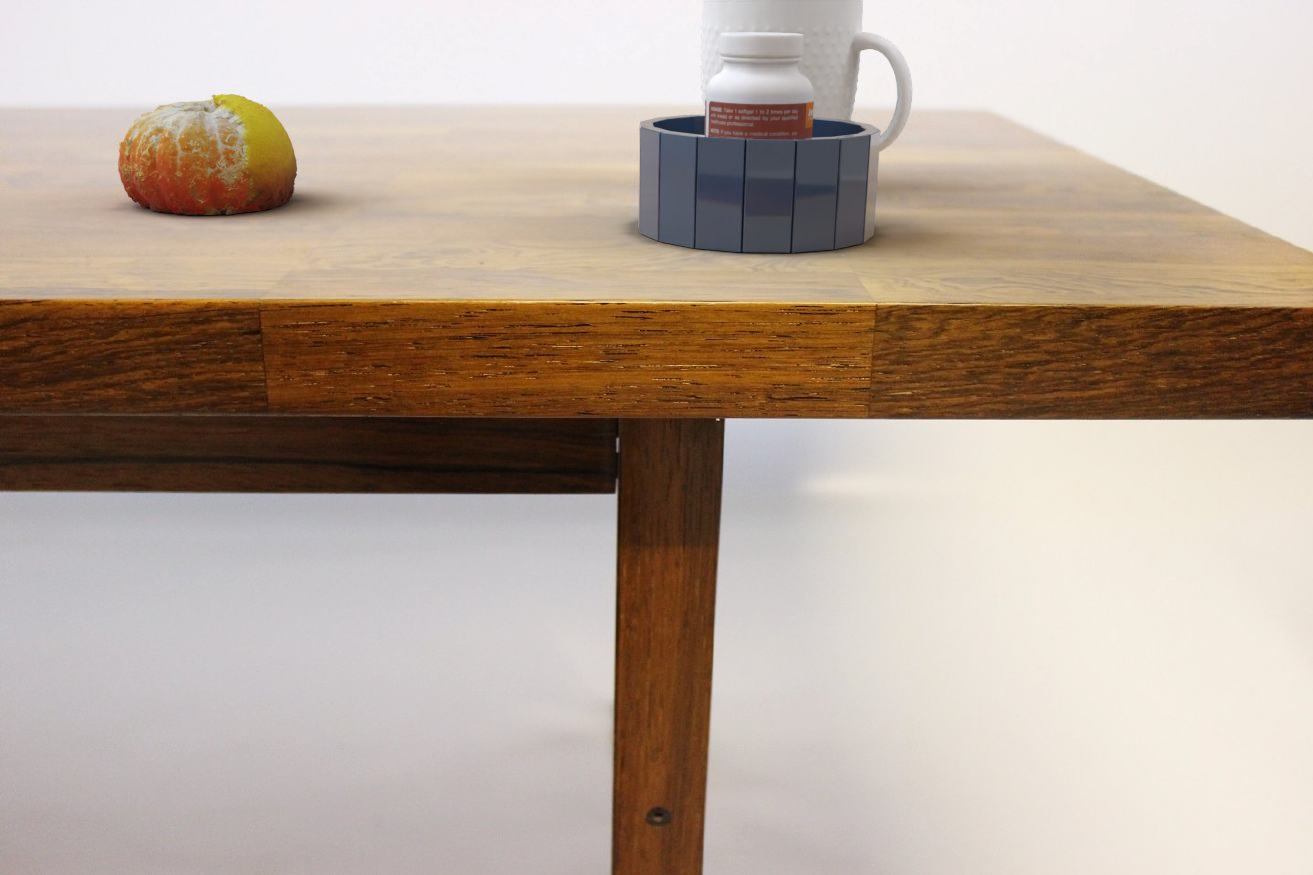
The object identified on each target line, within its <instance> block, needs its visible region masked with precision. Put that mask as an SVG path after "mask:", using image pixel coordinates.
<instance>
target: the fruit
mask: <svg viewBox="0 0 1313 875" xmlns="http://www.w3.org/2000/svg"><path fill="white" fill-rule="evenodd" d="M211 97H212V98H210V99H206V100H204V101H203V100H197V101H195V100H191V101H177V102H173V103H169V104H161V105H158V106H157V107H156V108H155V109H154V110H153V111H149V112H144V113H142V114H141V115H139V116H138V117H137V118H136V119H135V120H133V123H132V125H131V126H130V128H129V129H128V130H127V132H126V134H125V136H124V139H123V141H121V142H118V144H119V148H118V152H119V156H118V163H117V165H118V167H117V168H118V170H117V172H118V174H119V178H120V181H121V183H122V185H123V189H124V192H126V193H127V194H126V195H127V197H128V198H130V199H131V200H132V201H133V203H134V204H136V203H138V204H139V205H140V207H142V208H150V209H149V211H152V212H157V213H164V214H166V213H171V214H174V215H186V216H215V215H222V216H223V215H224V216H226V215H227V216H229V215H236V214H243V213H252V212H261V211H266V210H272V209H274V208H277V207H279V206H284V204H286V203H288V202H290V198H292V197H293V194H294V192H295V182H296V178H297V176H298V174H297V172H298V163H297V158H296V154H295V149H294V146H293V143H292V141H291V138H290V136H289V133H288V131H287V130H286V129H285V126H283V124H282V122H281V121H280V120H279V119H278V118H277V116H276V115H275V114H274V113H273V111H272V110H270V109H269V108H268V107H266V106H264V105H263V104H262V103H259V102H257V101H253V100H252V99H248V98H247V97H245V96H243V95H239V94H235V93H234V94H233V93H229V94H225V93H224V94H223V93H221V94H212V95H211Z"/></svg>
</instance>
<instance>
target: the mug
mask: <svg viewBox="0 0 1313 875" xmlns="http://www.w3.org/2000/svg"><path fill="white" fill-rule="evenodd" d="M863 9H864V0H702V16H701V26H700V28H701V33H700V34H701V35H700V40H701V44H700V50H701V51H700V52H701V53H700V61H701V62H700V69H701V70H700V71H701V73H700V80H701V85H700V86H701V87H700V88H701V100H702V104H703V105H702V109H703V112H704V113H705V98H706V88H707V85H708V83H709V81H710V80H711V78H712V77H713V76H715V75H716V74H718V73H720V72H721V71H722V70H723V68H724V60H721V59H720V57H721V55H720V53H719V50H720V35H721V33H724V32H771V33H797V34H803V36H804V44H803V55H802V56H801V58H802V60H801V61H798V65H797V66H798V71H799V73H800V74H802V75H804V76H805V77H806V78H807V79H808V80H809V81H810V82H811V84H812V86H813V90H814V107H813V117H822V118H832V119H842V120H850V121H852V116H853V112H854V108H855V107H854V106H855V102H856V94H857V91H858V81H859V73H860V72H859V71H860V63H861V53H862V52H863V51H865V50H873V51H876V52H879V53H881V54H882V55H883V56H884V57H885V58H886V59H887V61H888V62H889V65H890V67H891V68H892V70H893V73H894V78H895V82H896V83H895V84H896V94H897V95H896V96H897V97H896V103H895V109H894V112H893V115H892V118H891V120H890V122H889V125H888V126H887V128H886V129H885V131H884V132H882V134H880V148H879V153H880V152H882V151H884V150H886V149H887V148H888V147H890V146H891V145H892V144H893V143H894V142H896V140H897V139H898V138H899V137H900V135H901V133H902V132H903V130H904V128H905V127H906V124H907V122H908V120H909V117H910V112H911V109H912V103H913V102H912V101H913V81H912V75H911V71H910V67H909V65H908V62H907V60H906V58H905V55H904V54H903V53H902V51H901V50H900V49H899V47H898V46H896V44H895V43H893V42H892V41H891V40H889V39H888V38H886V37H885V36H882V35H879V34H876V33H872V32H865V31H863V14H864V13H863V12H864V10H863Z"/></svg>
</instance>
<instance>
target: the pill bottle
mask: <svg viewBox="0 0 1313 875" xmlns="http://www.w3.org/2000/svg"><path fill="white" fill-rule="evenodd" d="M803 44H804V36H803V34H797V33H771V32H724V33H721V35H720V50H719V53H720V55H721V57H720V59H721V60H724V68H723V70H722V71H721V72H720V73H718V74H716V75H715V76H713V77H712V78H711V80H710V81H709V83H708V85H707V88H706V98H705V112H704V114H705V135H707V136H724V137H741V138H812V128H813V107H814V90H813V86H812V84H811V82H810V81H809V80H808V79H807V78H806V77H805V76H804V75H802V74H800V73H799V71H798V66H797V65H798V61H801V60H802V58H801V56H802V55H803Z"/></svg>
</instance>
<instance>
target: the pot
mask: <svg viewBox="0 0 1313 875" xmlns="http://www.w3.org/2000/svg"><path fill="white" fill-rule="evenodd" d="M638 128H639V129H638V130H639V132H638V134H639V135H638V136H639V137H638V139H639V140H638V149H639V150H638V210H637V211H638V218H637V220H638V222H637V224H638V232H639V234H641V235H644V236H645V237H648V238H650V239H653V240H655V241H657V242H660V243H664V244H671V245H675V246H680V247H685V248H690V249H698V250H710V251H720V252H730V253H731V252H732V253H741V252H742V253H754V254H755V253H760V254H761V253H763V254H764V253H768V254H771V253H773V254H775V253H778V254H782V253H783V254H788V253H792V254H795V253H808V252H822V251H832V250H839V249H842V248H843V249H844V248H848V247H852V246H856V245H862V244H864V243H866V242H867V241H868V240H869V239H871V238H872V237H873V236H874V234H875V220H876V206H877V204H876V203H877V193H878V192H877V191H878V175H879V164H880V163H879V161H880V152H879V148H880V136H881V132H882V131H881V129H879V128H878V127H876V126H875V125H873V124H870V123H864V122H860V121H854V120H851V121H850V120H842V119H832V118H822V117H813V128H812V138H741V137H724V136H707V135H705V113H702V114H679V115H670V116H659V117H653V118H648V119H646V120H641V121H639V126H638Z"/></svg>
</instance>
